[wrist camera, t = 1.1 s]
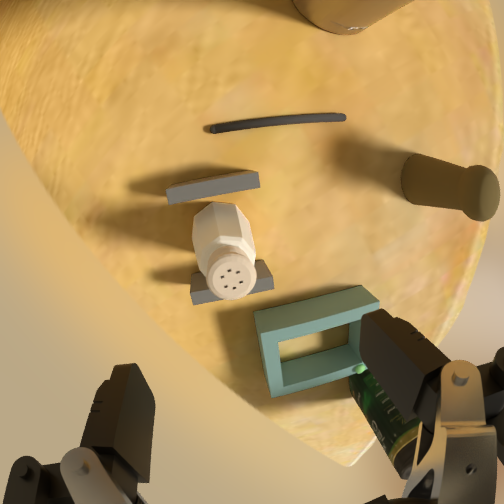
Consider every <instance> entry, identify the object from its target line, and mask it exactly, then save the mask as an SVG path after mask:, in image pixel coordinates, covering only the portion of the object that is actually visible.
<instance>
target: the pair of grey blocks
mask: <svg viewBox="0 0 504 504" xmlns="http://www.w3.org/2000/svg"><path fill="white" fill-rule="evenodd" d="M255 188H260V181H259V175H258V172H256V171H252V170H247V171H241V172H235V173H229V174H223V175H218V176H212V177H207V178H202V179H197V180H192V181H187V182H182V183H178V184H173V185H171V186H170V187H168V188H167V189H166V194H167V199H168V204H169V205H171V204H176V203H181V202H185V201H190V200H195V199H200V198H205V197H210V196H216V195H221V194H226V193H232V192H238V191H243V190H249V189H255ZM254 267H255V270H256V276H257V277H256V283H255V285H254V287H253V289H252V290H251V291H250V292H249V293H248V294H253V293H258V292H262V291H267V290H272V289H274V282H273V276H272V274H271V272H270V271H269V269H268V267H267V265H266V264H265V262H264V260H260V261H255V263H254ZM248 294H247V295H248ZM190 295H191V299H192V302H193V305H198V304H203V303H208V302H213V301H218V300H223V299H222V298H219V297H217V296H216V295H214V294H213V293H212V292H211V291H210V289H209V287H208V285H207V281H206V277H205V276H204V274H203V273H202V272H199V273H194V274H192V275H191V286H190Z"/></svg>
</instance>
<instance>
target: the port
mask: <svg viewBox="0 0 504 504" xmlns="http://www.w3.org/2000/svg"><path fill="white" fill-rule="evenodd" d="M379 303H380V301H379V300H378V299H377V298H375V297H374V296H373V295H372V294H371V293H370V292H369V291H368V290H366V289H365V288H364V287H363V286H362V285H360V286H357V287H353V288H350V289H346V290H342V291H338V292H335V293H331V294H327V295H323V296H319V297H315V298H311V299H307V300H303V301H299V302H294V303H290V304H286V305H282V306H277V307H273V308H268V309H264V310H259V311H255V312H253V313H254V319H255V324H256V330H257V336H258V341H259V347H260V353H261V358H262V364H263V369H264V375H265V378H266V382H267V385H268V388H269V392H270V395H271V398H275V397H279V396H283V395H287V394H291V393H294V392H298V391H302V390H305V389H309V388H312V387H316V386H319V385H322V384H325V383H329V382H332V381H335V380H338V379H341V378H344V377H347V376H349V375H352V374H355V373H357V374H360V373H362V372H363V371H364V370H366V369H368V368H367V367H366V365H365V364H364V363H363V361H362V359H361V356H360V352H359V342H360V328H361V317H362V315H363V314H366V313H369V312H372V311H375V310H378V309H379ZM347 323H349V339H348V344H346V345H342V346H339V347H336V348H333V349H330V350H326V351H323V352H319V353H316V354H312V355H309V356H305V357H302V358H298V359H294V360H290V361H286V362H282V363H280V355H279V347H278V342H281V341H285V340H289V339H293V338H297V337H301V336H305V335H308V334H312V333H316V332H319V331H323V330H327V329H330V328H333V327H337V326H340V325H344V324H347Z"/></svg>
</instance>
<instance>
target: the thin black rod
mask: <svg viewBox="0 0 504 504" xmlns="http://www.w3.org/2000/svg"><path fill="white" fill-rule="evenodd" d="M345 120H346V115H345V114H342V113H338V114H309V115H293V116H280V117H269V118H260V119H251V120H243V121H236V122H229V123H223V124H216V125H212V126H211V128H210V131H211V133H213V134H217V133H223V132H229V131H236V130H243V129H250V128H258V127H267V126H277V125H287V124H300V123H315V122H340V121H345Z"/></svg>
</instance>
